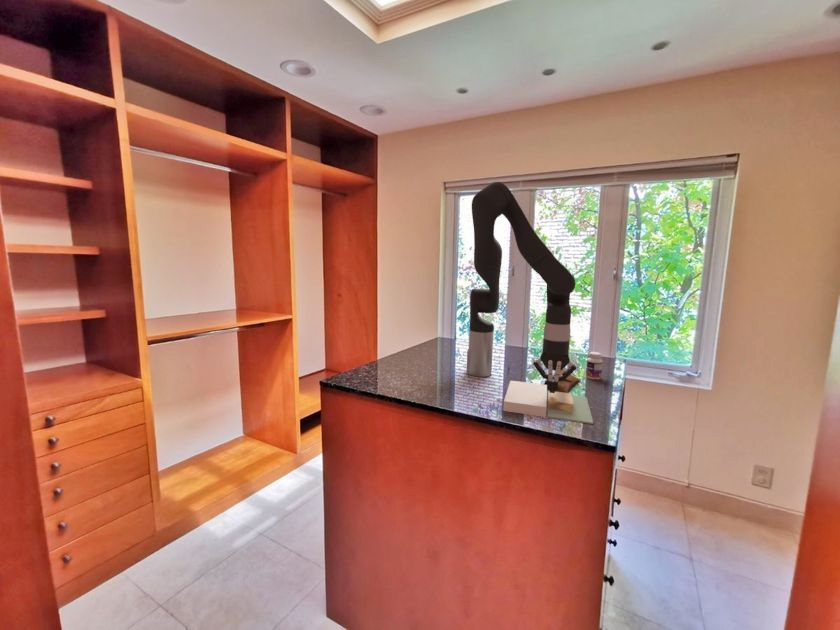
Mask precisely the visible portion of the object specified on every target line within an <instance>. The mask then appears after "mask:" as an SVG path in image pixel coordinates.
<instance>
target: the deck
mask: <svg viewBox="0 0 840 630" xmlns="http://www.w3.org/2000/svg"><path fill="white" fill-rule="evenodd" d="M547 406H548V389H547V385H544V383H535V382H534V383H533V382H527V381H526V382H525V381H519V380H510V381H509V384H508V387H507V390H506V394H505V396H504V400H503V407H502V408H503V409H502V411H503V412H510V413H516V414H522V415H530V416H537V417H544V418H546V417H547Z"/></svg>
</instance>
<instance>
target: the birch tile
mask: <svg viewBox="0 0 840 630" xmlns="http://www.w3.org/2000/svg"><path fill="white" fill-rule="evenodd" d="M572 396H573V394H572V393H569V392H568V393H564V392H558V391H557V392H555V393H550V391H548V392H547V406H546V409H547V410H548V409H554V410H561V411H568V412H573V398H572Z"/></svg>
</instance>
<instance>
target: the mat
mask: <svg viewBox="0 0 840 630" xmlns="http://www.w3.org/2000/svg"><path fill="white" fill-rule="evenodd" d="M572 398H573V412H568V411H561V410H554V409H548V408H547V418H551V419H557V420H562V421H563V420H564V421H571V422H576V423H581V424H583V423H584V424H590V425H593V424H594V420H593V416H592V413H591V412H592V411H591V409H590V405H589V402H588V398H587V397H585V396H580V395H572Z"/></svg>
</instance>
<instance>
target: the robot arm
mask: <svg viewBox="0 0 840 630" xmlns="http://www.w3.org/2000/svg"><path fill="white" fill-rule="evenodd" d="M502 215H503V216H504V218H505V219H507V221H508V222H509V224H510V226H511V228H512V230H513V235H514V238H515V243H516V247H517V249H518V251H519V253H520V255H521V256H522V258H523V259H524V261H526V262H527V264H528V265H529V266H530V268H532V270H534V271H535V273H536V274H538V275H539V276H540V277H541V279H542V280H543V281H544V282H545V284H546V310H545V324H544V328H543V337H542V338H543V340H542V353H541V354H540V356H539V358H537V359H534V360H533V362H532V363H533V366H534V368H535V370H537V372H538V373H539V375H540V376H541V377H542V379H545V380H548V389H547V392H549V391H550V393H555V392H558V391H557V388H558V382H559V381H564V380H565V379H566V378H567V377H568V376H569V375H570V374H571V375H572V374H573V373H574V372H575V370H576V369H577V365H576V364H575V363H573V362H572V361H571V359H570V356H569V354H570V353H569V352H570V341H571V340H570V339H571V318H572V307H571V304H570V299H571V296H570V295H571V293H573V292H574V290H575V288H576V280H575V277H574V275H573V274H572V273H571V272H570V270H568V269H567V268H566V266H564V265H563V263H562V262H560V261H559V260H558V259H557V258H556V256H555V255H554V254H553V252H552V251H551V250H550V248H548V246H547V244H545V243H544V242H543V240H542V239H541V238H540V236H539V235H538V233H536V231H535V229H534V228H533V226H532V224H531V223H530V221H529V220H528V218H527V216H526V214H525V213H524V211H523V209H522V207H521V206H520V204H519V203H518V200H517V199H516V198H515V196H514V194H513V193H512V191H511V190H510V189H509V187H508V186H507V185H506V184H504V183H503V182H500V181H494V182H492V183H490V184H488V185H487V186H486V187H483V189H481V190H480V191H478V192H476V194H475V195H474V196H473V197H472V201H471V216H472V225H473V240H474V241H473V242H474V251H473V267H474V270H475V272H476V273H477V275H478V276H479V277H480V278H481V279H482V281H483V282H485V284H486V286H487V288H473V289H471V290H470V294H469V330H468V331H469V332H468V334H469V335H468V349H467V351H466V353H467V354H466V373H465V374H466V375H470V376H473V377H480V378H483V377H489V376H491V375H492V372H493V371H492V370H493V368H492V367H493V349H494V332H495V331H494V329H495V325H494V323H493V322H491V321H488V320H486V319H484V318H483V317H482V316H480V315H479V314H495V313H496V312H497V311H498V310H499V306H500V276H501V268H502V259H503V248H502V246H501V244H500V242H499V241H498V239H497V238H496V237H495V233H494V232H495V224H496V220H497V218H498V217H500V216H502ZM542 364H543V366H544V367H545V368H546V369H547V371H548V373H547V372H546V371H545V370H544V368H543V367H542ZM565 367H567V369H566V370H565V372H564V373H563V374H562V375H560V371H561V370H562V369H565ZM553 372H554V374H555V375H554V374H553ZM553 375H554V380H553ZM559 375H560V376H559Z"/></svg>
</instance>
